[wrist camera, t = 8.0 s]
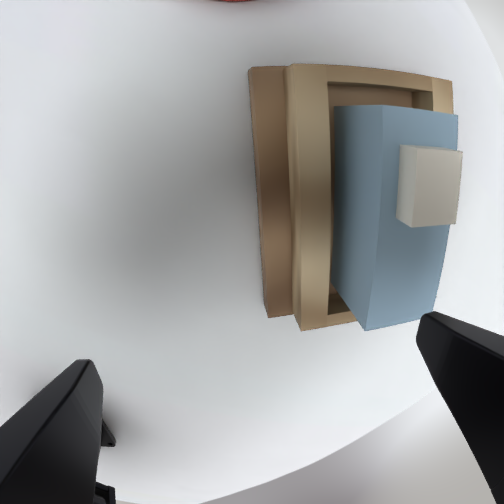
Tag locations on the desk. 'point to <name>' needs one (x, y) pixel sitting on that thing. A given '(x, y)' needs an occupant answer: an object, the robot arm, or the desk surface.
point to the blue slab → (392, 209)
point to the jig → (313, 173)
